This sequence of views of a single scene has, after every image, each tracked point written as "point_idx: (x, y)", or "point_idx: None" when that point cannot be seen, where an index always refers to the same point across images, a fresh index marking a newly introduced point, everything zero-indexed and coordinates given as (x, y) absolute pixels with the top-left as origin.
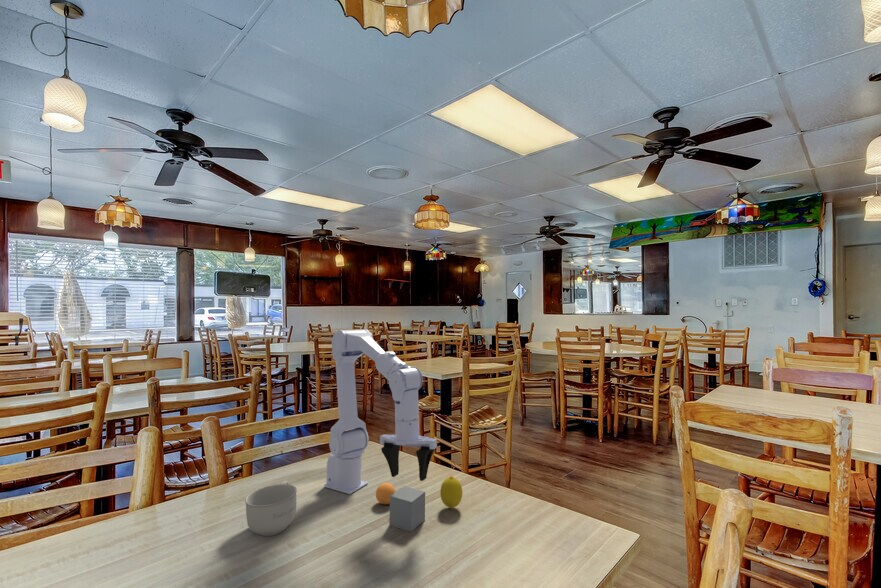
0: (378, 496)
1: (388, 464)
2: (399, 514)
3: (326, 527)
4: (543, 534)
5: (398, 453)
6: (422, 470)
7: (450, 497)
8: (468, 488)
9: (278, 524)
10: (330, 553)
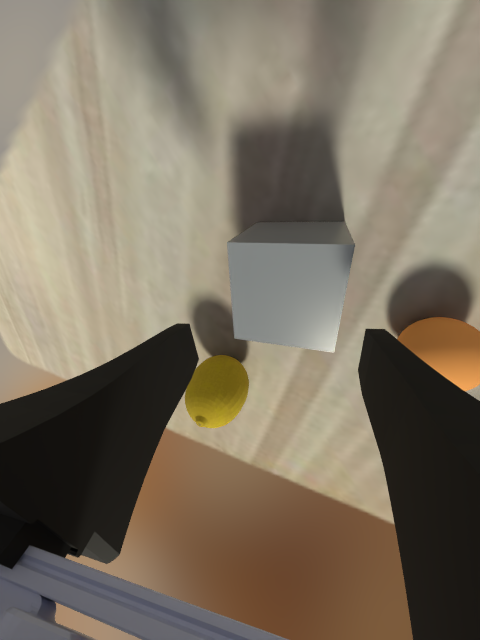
0: (462, 324)
1: (448, 380)
2: (299, 230)
3: None
4: (70, 332)
5: (397, 520)
6: (131, 349)
7: (204, 365)
8: (245, 435)
9: None
10: None
